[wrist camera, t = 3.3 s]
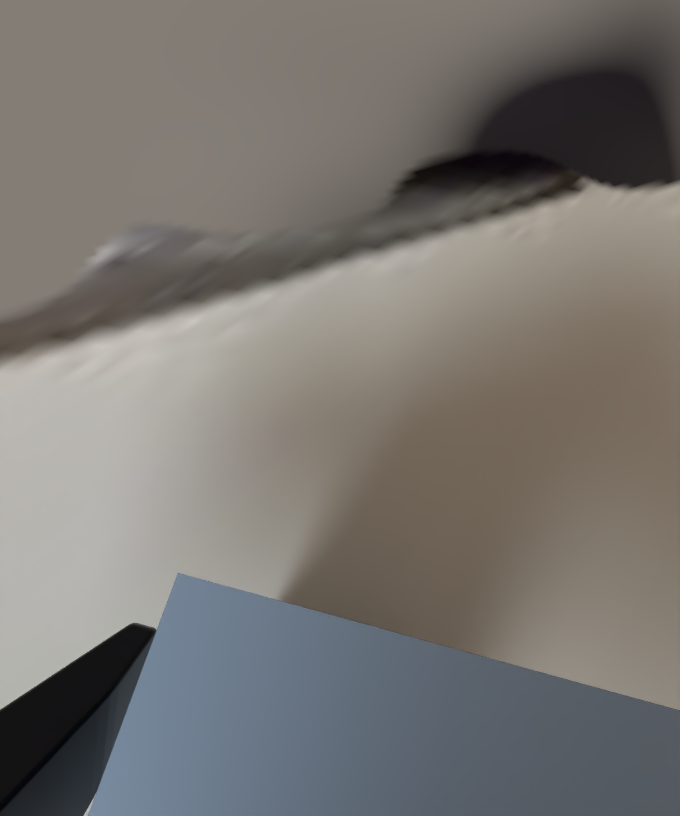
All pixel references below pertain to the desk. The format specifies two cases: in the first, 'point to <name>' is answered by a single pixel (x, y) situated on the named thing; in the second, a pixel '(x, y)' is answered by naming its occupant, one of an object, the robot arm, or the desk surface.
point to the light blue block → (368, 725)
